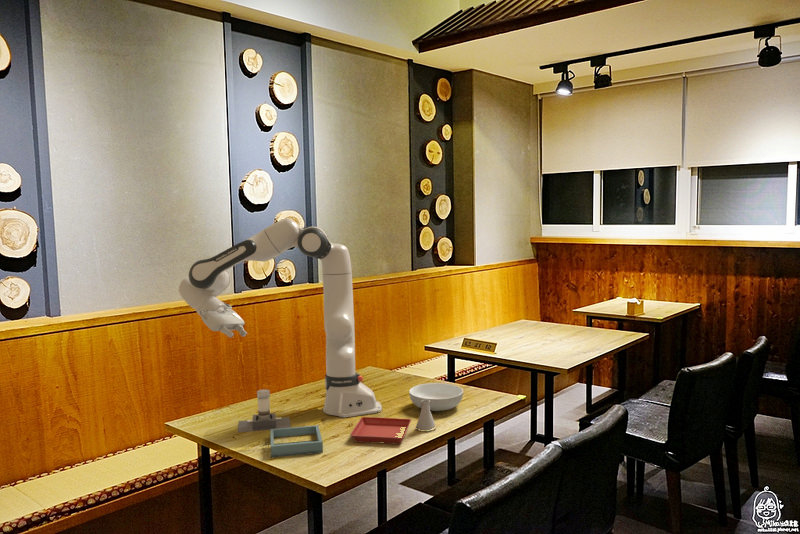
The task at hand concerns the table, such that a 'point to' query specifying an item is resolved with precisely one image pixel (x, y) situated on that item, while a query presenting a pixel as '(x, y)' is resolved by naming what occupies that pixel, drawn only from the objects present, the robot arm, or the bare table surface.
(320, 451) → the tray
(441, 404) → the serving bowl
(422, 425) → the flask
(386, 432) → the plant saucer
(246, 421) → the board
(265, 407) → the cylinder
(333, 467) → the table surface
